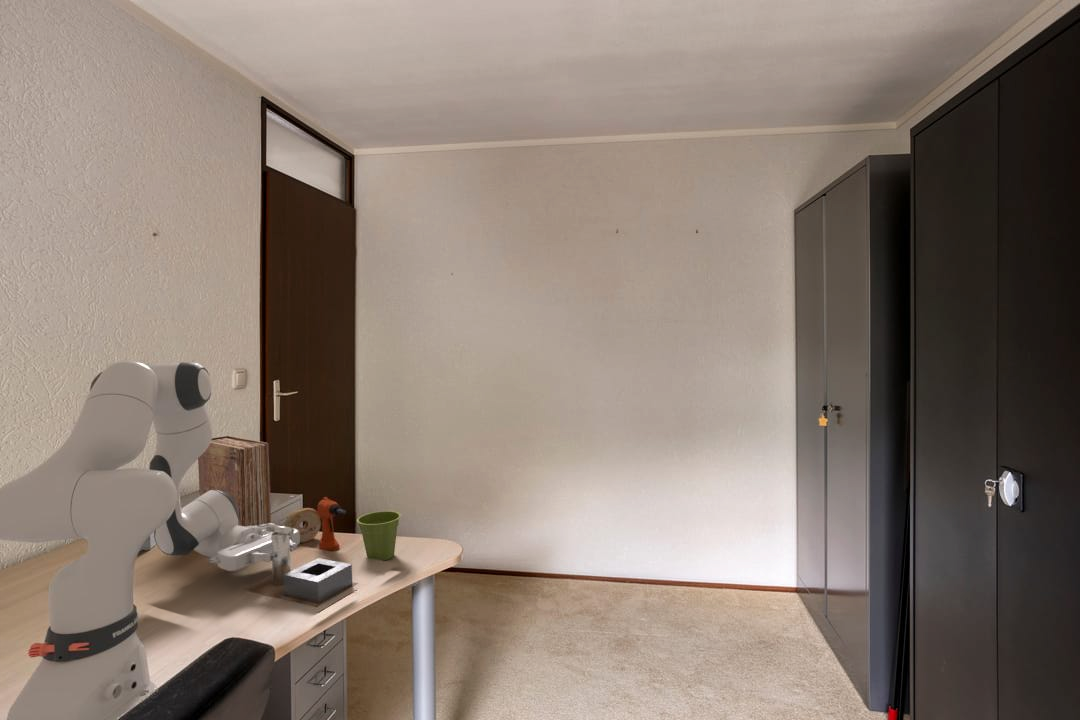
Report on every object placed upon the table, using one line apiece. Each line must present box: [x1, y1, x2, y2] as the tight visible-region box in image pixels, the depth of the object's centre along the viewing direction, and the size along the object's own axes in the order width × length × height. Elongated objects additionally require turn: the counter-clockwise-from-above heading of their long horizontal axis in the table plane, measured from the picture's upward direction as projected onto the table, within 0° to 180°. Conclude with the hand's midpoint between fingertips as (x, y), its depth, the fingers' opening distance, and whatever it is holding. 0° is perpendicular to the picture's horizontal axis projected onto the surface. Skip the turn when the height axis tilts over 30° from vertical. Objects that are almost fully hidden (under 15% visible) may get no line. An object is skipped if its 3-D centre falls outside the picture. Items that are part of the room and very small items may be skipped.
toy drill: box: [316, 496, 347, 552], centre depth 161 cm, size 5×19×15 cm, turn 40°
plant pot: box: [356, 510, 402, 562], centre depth 157 cm, size 12×12×11 cm
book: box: [197, 435, 272, 527], centre depth 174 cm, size 25×9×30 cm, turn 54°
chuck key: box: [266, 524, 294, 586], centre depth 138 cm, size 8×4×14 cm, turn 66°
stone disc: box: [284, 507, 322, 544], centre depth 170 cm, size 10×4×10 cm, turn 135°
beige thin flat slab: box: [241, 569, 359, 614], centre depth 136 cm, size 24×13×2 cm, turn 66°
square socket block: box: [283, 557, 353, 604], centre depth 133 cm, size 11×11×5 cm
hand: (283, 552), depth 137 cm, fingers open, 5 cm apart
